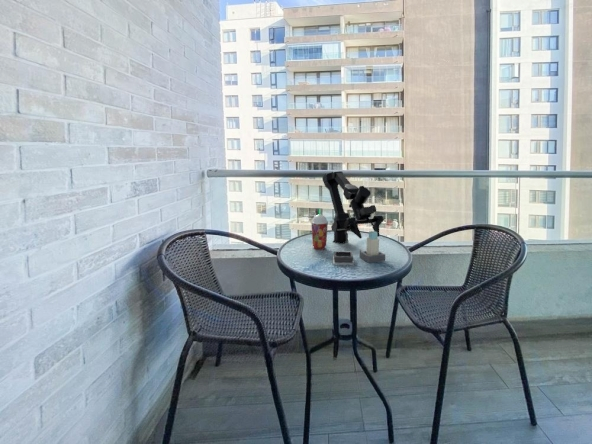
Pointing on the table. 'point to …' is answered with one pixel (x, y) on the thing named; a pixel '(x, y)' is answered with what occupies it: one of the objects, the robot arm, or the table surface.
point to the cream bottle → (372, 244)
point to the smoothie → (319, 231)
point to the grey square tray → (372, 257)
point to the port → (343, 258)
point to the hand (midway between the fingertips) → (369, 237)
